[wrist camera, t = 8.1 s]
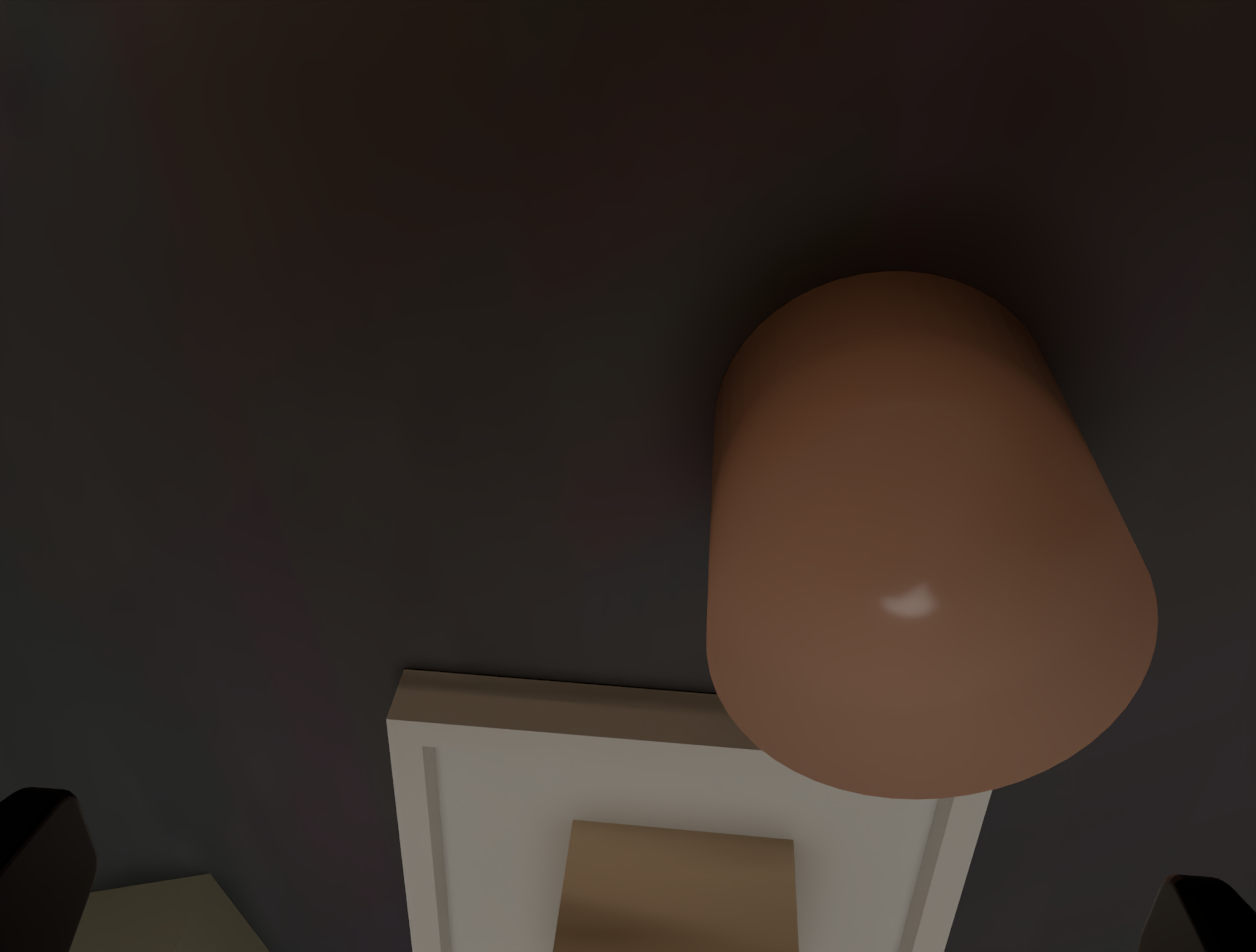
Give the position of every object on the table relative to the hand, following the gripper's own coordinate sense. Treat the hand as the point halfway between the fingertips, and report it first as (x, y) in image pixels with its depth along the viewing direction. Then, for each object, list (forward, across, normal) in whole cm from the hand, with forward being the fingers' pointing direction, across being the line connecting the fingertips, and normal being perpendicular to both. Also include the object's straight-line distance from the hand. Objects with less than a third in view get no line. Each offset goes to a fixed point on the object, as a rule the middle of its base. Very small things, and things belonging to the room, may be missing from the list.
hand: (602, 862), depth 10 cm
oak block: (+11, 0, +16) cm, 19 cm away
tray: (+12, 0, +16) cm, 20 cm away
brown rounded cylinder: (+12, -4, +3) cm, 13 cm away
